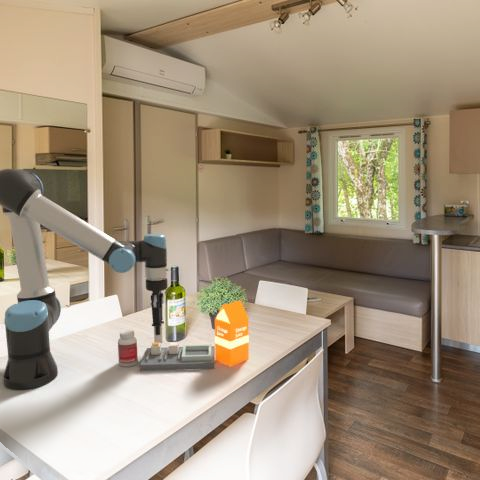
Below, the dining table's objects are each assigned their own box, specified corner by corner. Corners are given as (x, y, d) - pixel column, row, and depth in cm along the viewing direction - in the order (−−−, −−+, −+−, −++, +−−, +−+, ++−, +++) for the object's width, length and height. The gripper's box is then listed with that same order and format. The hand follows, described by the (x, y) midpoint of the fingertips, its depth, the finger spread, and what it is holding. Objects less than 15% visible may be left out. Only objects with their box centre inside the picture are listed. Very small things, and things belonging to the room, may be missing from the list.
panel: (140, 370, 137) (139, 360, 136) (147, 353, 151) (146, 343, 150) (214, 368, 138) (214, 358, 138) (214, 351, 152) (214, 342, 152)
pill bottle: (140, 364, 142) (139, 332, 140) (122, 369, 138) (120, 336, 137) (133, 358, 147) (132, 327, 145) (116, 362, 144) (114, 331, 142)
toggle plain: (169, 354, 145) (168, 345, 144) (169, 350, 148) (169, 342, 147) (177, 353, 145) (177, 345, 144) (178, 350, 148) (178, 342, 147)
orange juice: (214, 359, 145) (214, 303, 142) (233, 352, 151) (232, 297, 149) (230, 366, 140) (230, 308, 137) (249, 358, 146) (249, 302, 143)
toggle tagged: (151, 354, 144) (150, 345, 144) (152, 351, 147) (152, 341, 147) (160, 354, 144) (159, 344, 144) (161, 350, 147) (160, 341, 147)
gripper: (165, 282, 143) (167, 349, 146) (169, 273, 155) (170, 335, 159) (142, 282, 142) (145, 349, 145) (148, 274, 155) (150, 336, 158)
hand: (158, 342), depth 152 cm, fingers closed
